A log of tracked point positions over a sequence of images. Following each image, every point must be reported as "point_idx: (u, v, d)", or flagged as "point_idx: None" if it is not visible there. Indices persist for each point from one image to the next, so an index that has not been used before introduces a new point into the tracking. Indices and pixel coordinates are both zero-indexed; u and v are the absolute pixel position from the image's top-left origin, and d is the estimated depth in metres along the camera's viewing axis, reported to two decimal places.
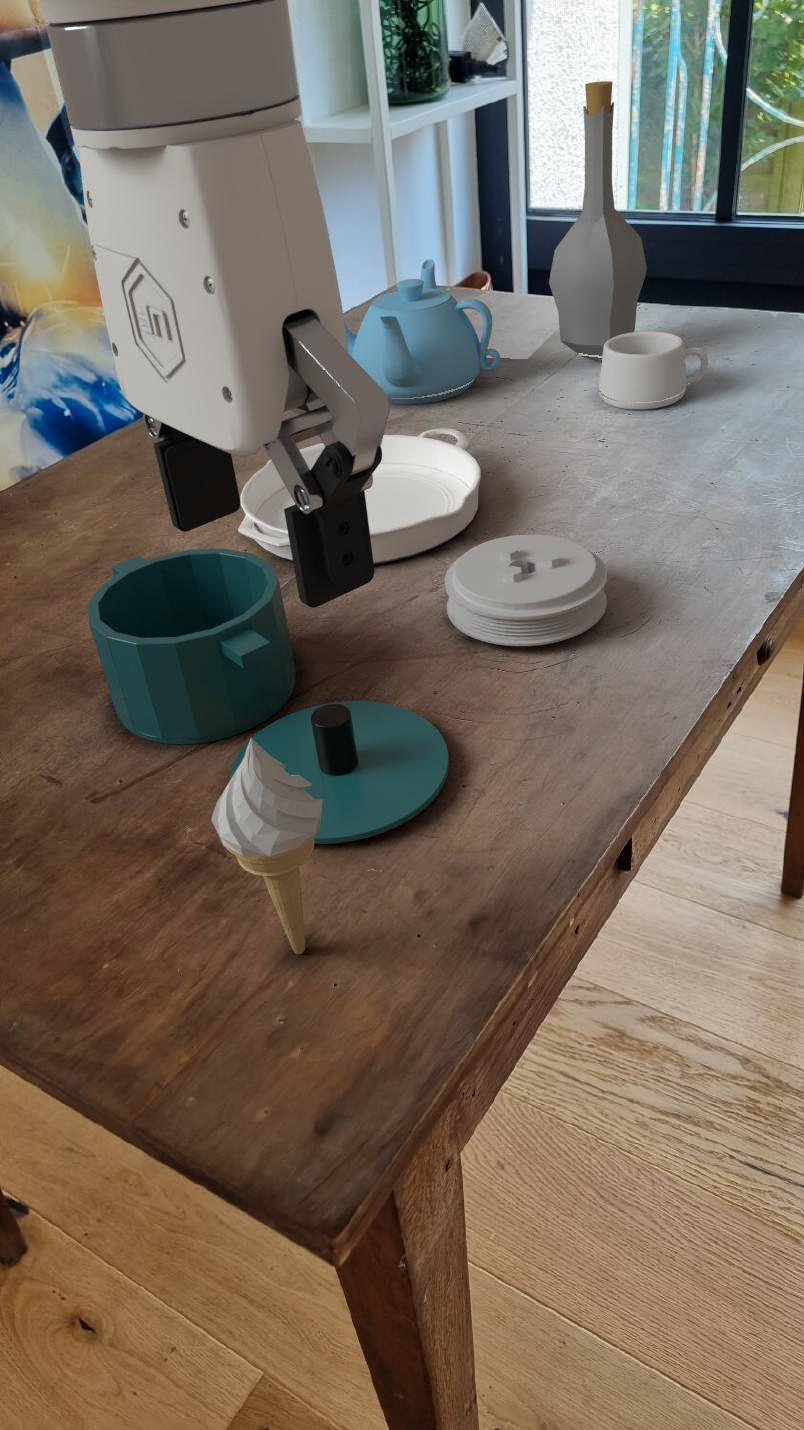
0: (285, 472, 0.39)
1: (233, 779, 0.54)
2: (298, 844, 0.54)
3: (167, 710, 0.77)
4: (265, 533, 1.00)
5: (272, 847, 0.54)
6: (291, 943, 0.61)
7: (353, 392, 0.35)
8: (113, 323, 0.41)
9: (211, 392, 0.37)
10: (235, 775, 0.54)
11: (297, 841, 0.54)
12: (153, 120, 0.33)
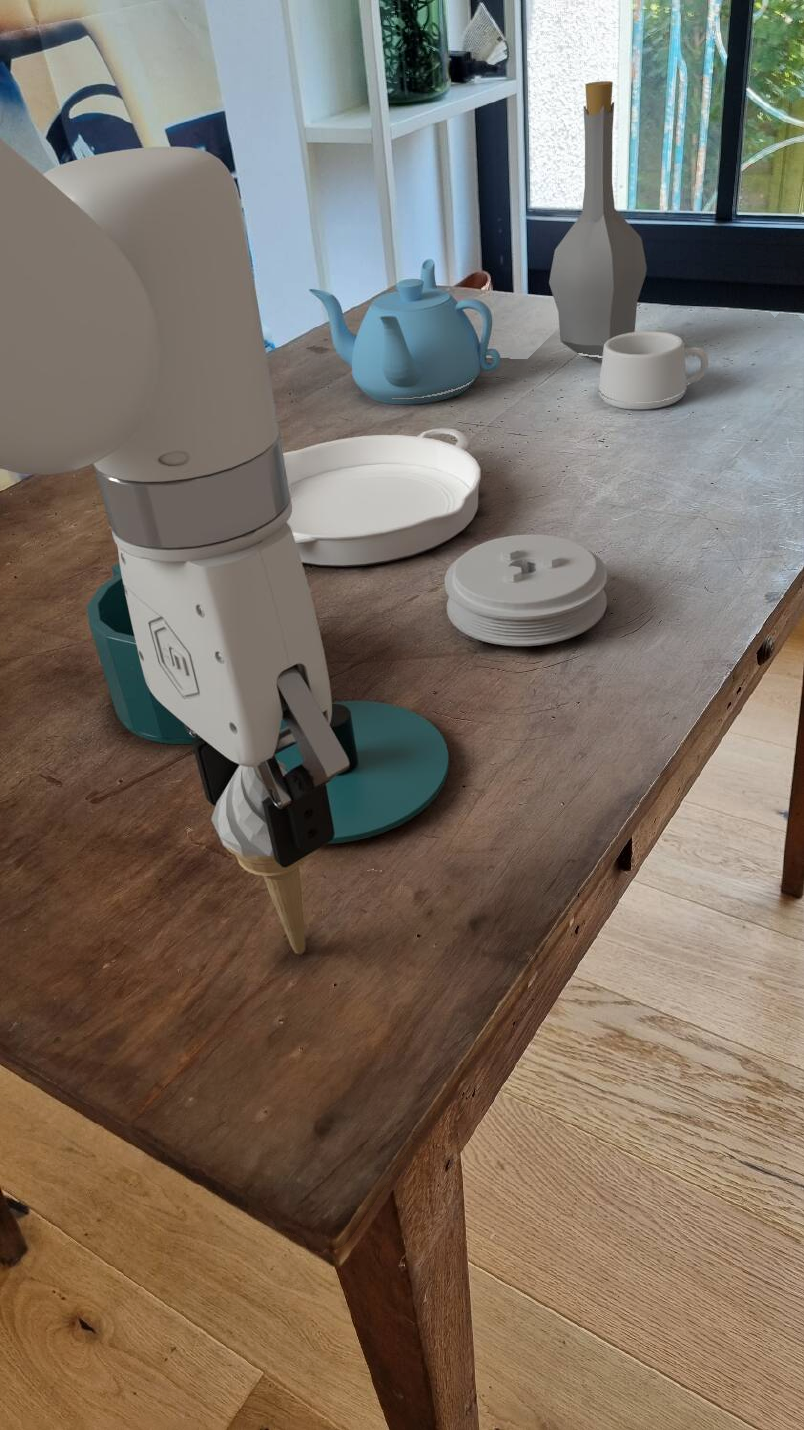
0: (265, 776, 0.50)
1: (233, 779, 0.54)
2: None
3: (167, 710, 0.77)
4: None
5: None
6: (291, 943, 0.61)
7: (324, 759, 0.46)
8: (140, 641, 0.51)
9: (220, 721, 0.47)
10: (235, 775, 0.54)
11: None
12: (176, 545, 0.43)
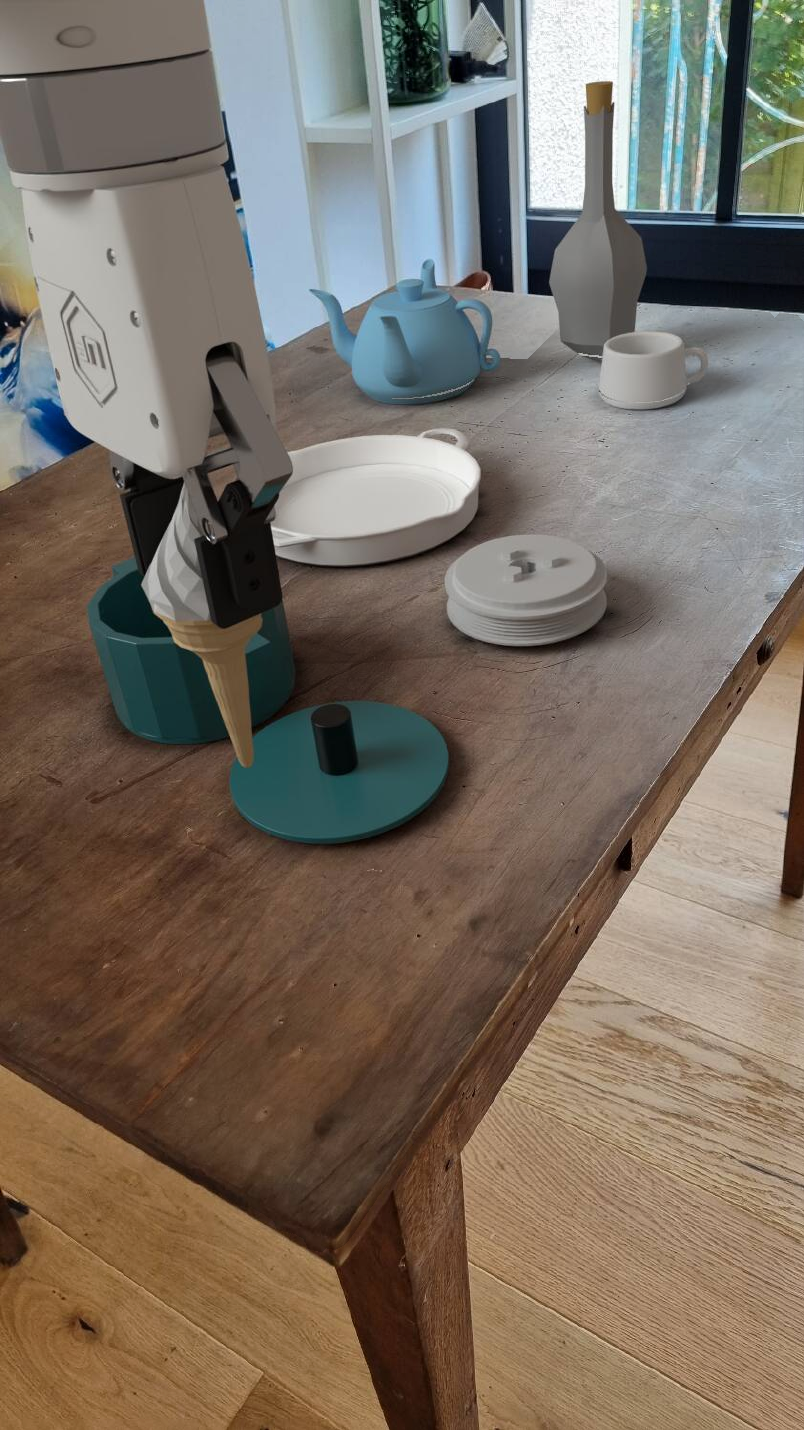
0: (197, 502, 0.42)
1: (166, 533, 0.47)
2: None
3: (167, 710, 0.77)
4: None
5: None
6: (237, 752, 0.53)
7: (262, 456, 0.39)
8: (55, 351, 0.44)
9: (140, 418, 0.40)
10: (169, 529, 0.47)
11: None
12: (81, 166, 0.35)
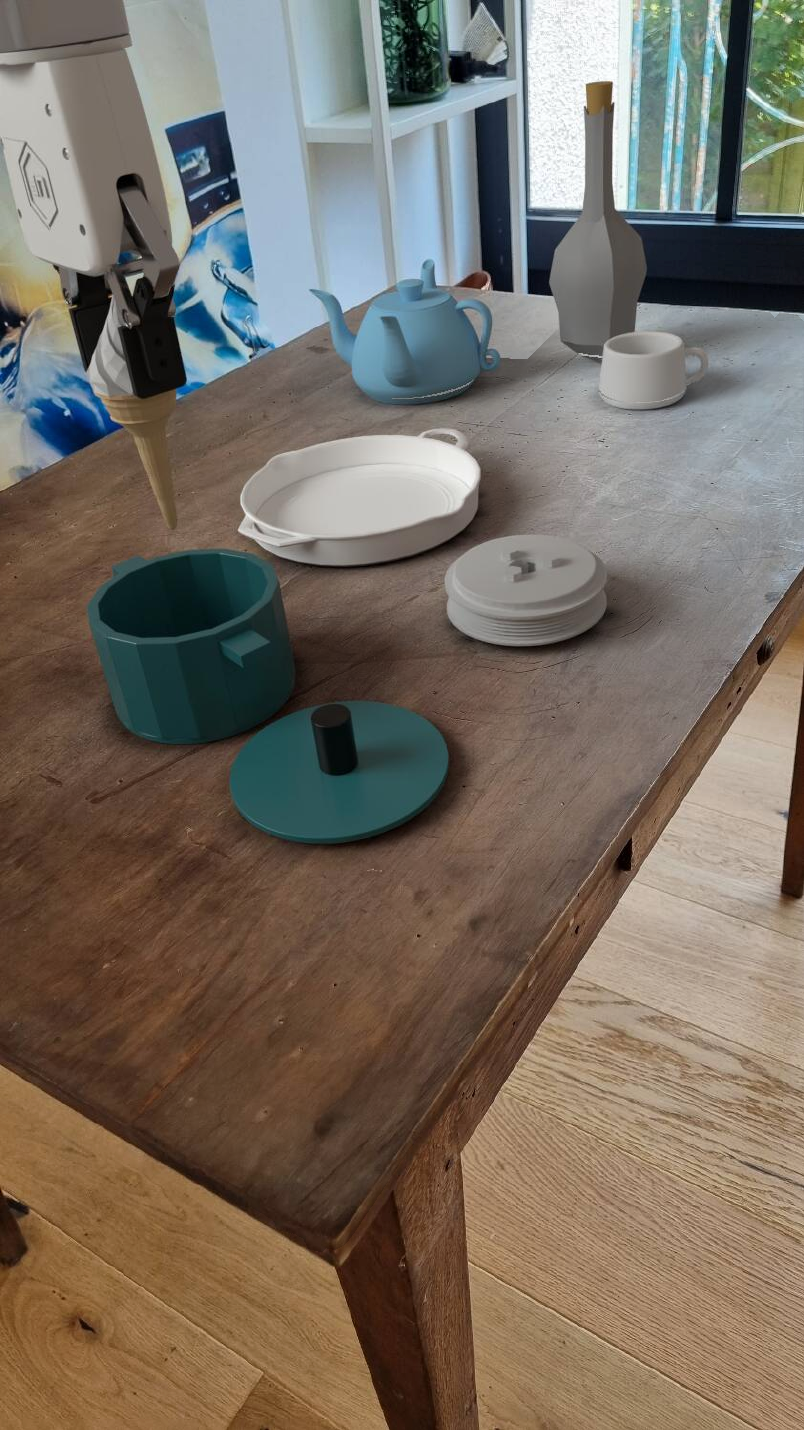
0: (117, 298, 0.59)
1: (102, 334, 0.64)
2: None
3: (167, 710, 0.77)
4: (265, 533, 1.00)
5: None
6: (164, 516, 0.70)
7: (157, 253, 0.56)
8: (17, 194, 0.61)
9: (74, 230, 0.57)
10: None
11: None
12: (26, 46, 0.52)
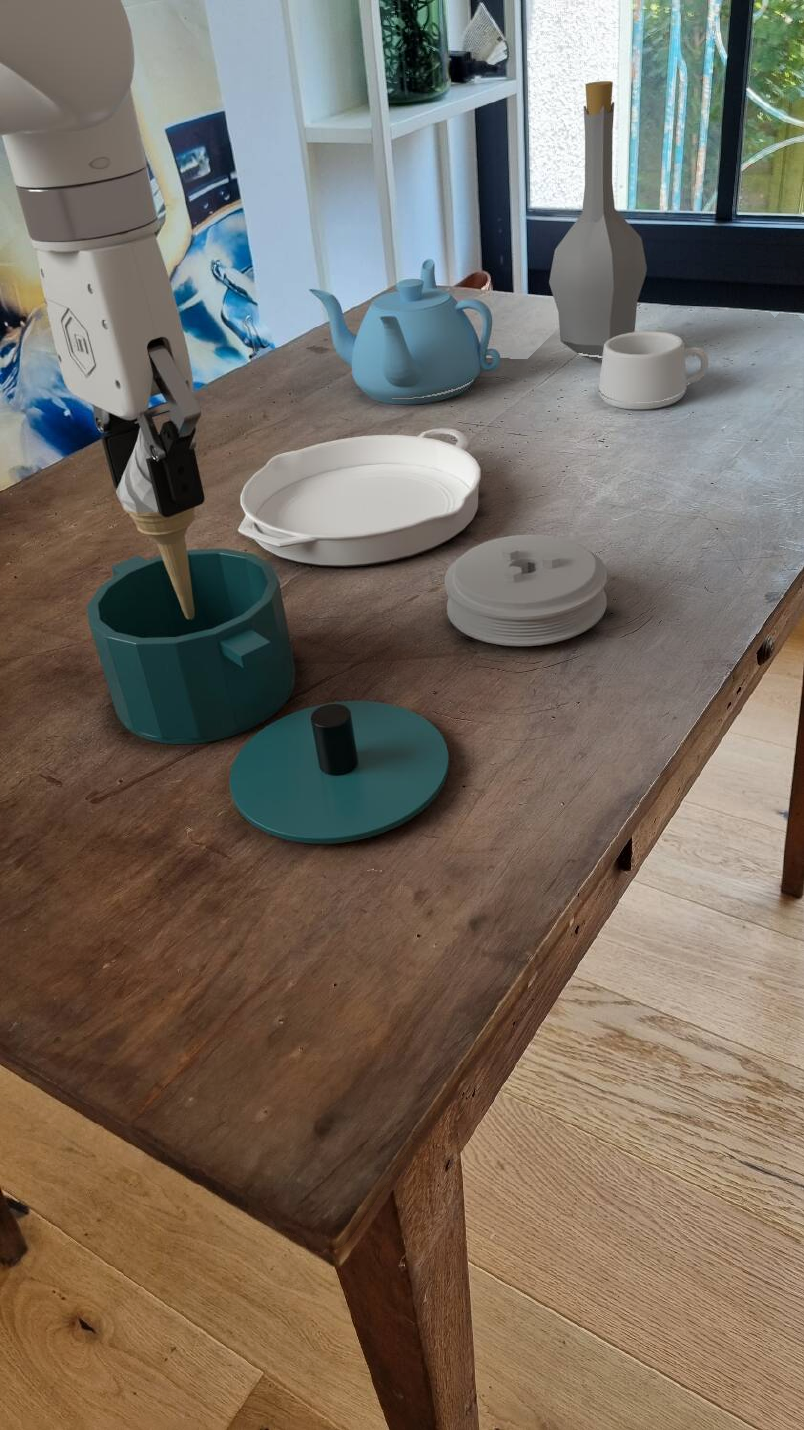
0: (146, 435, 0.69)
1: (131, 458, 0.73)
2: None
3: (167, 710, 0.77)
4: (265, 533, 1.00)
5: None
6: (183, 608, 0.80)
7: (182, 405, 0.65)
8: (58, 343, 0.70)
9: (110, 383, 0.66)
10: (132, 455, 0.73)
11: None
12: (72, 237, 0.62)
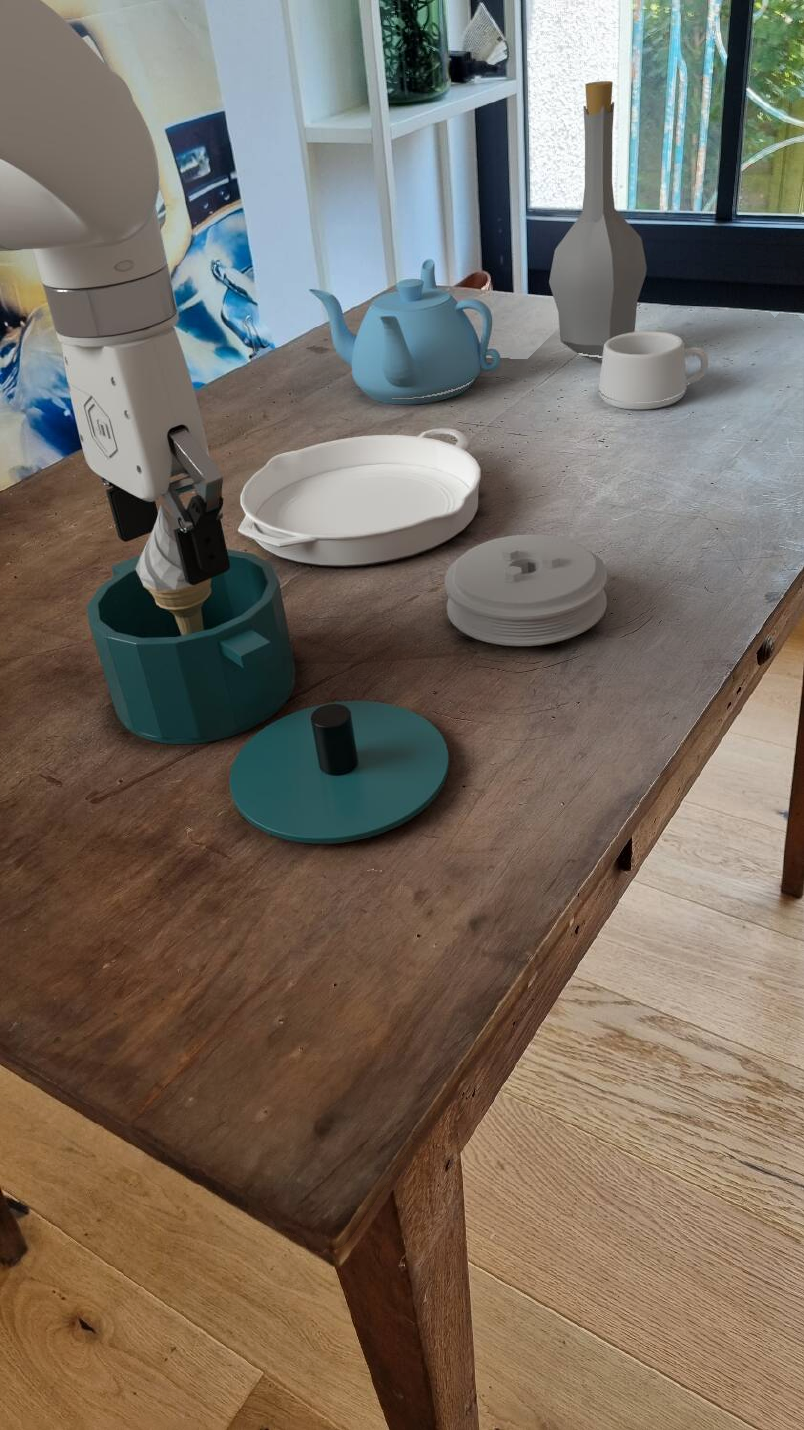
0: (173, 510, 0.71)
1: (150, 537, 0.77)
2: None
3: (167, 710, 0.77)
4: (265, 533, 1.00)
5: (176, 583, 0.76)
6: None
7: (202, 470, 0.67)
8: (80, 425, 0.73)
9: (131, 467, 0.69)
10: None
11: None
12: (96, 334, 0.65)
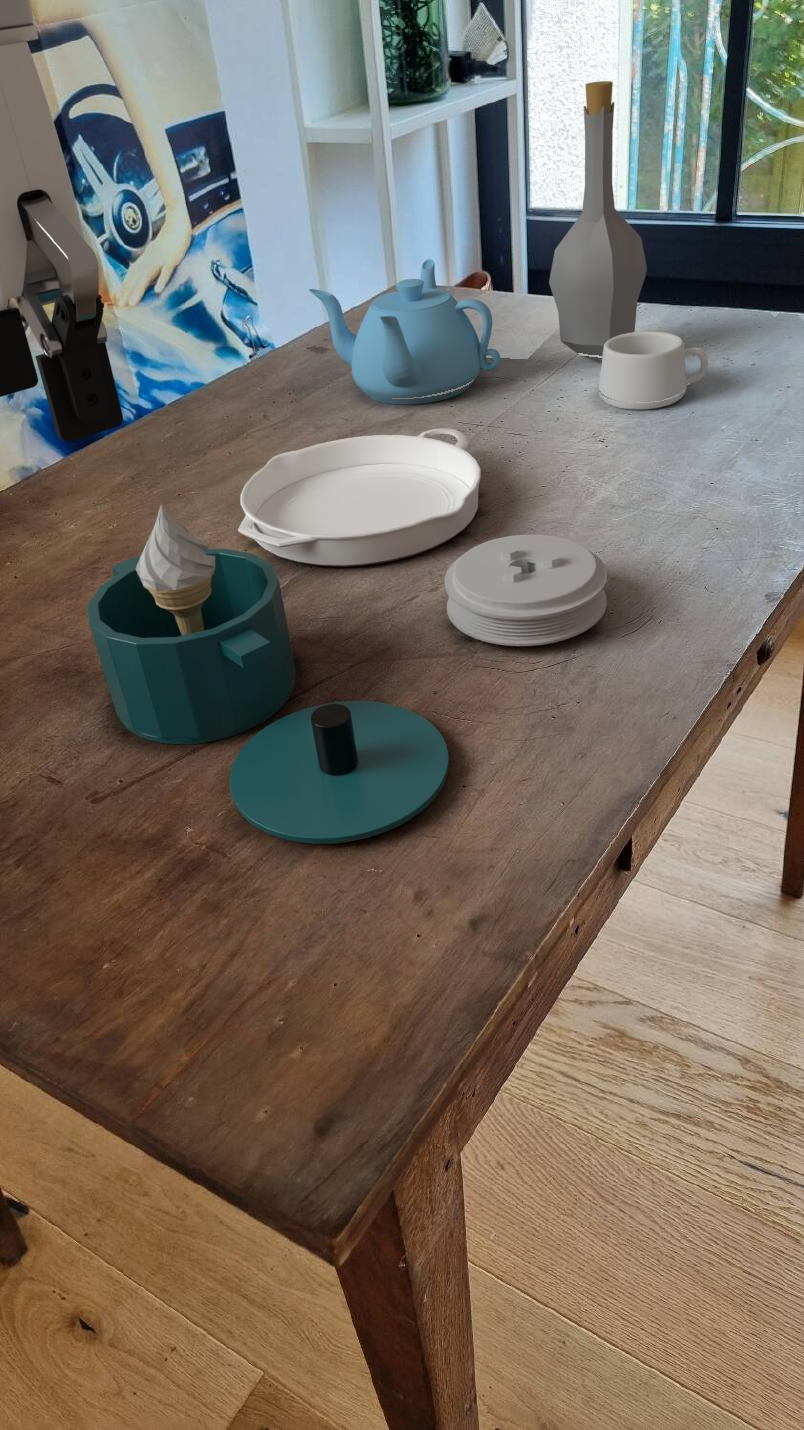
0: (33, 324, 0.49)
1: (150, 537, 0.77)
2: (195, 582, 0.76)
3: (167, 710, 0.77)
4: (265, 533, 1.00)
5: (177, 583, 0.76)
6: None
7: (67, 249, 0.45)
8: None
9: None
10: (151, 534, 0.77)
11: (194, 579, 0.76)
12: None
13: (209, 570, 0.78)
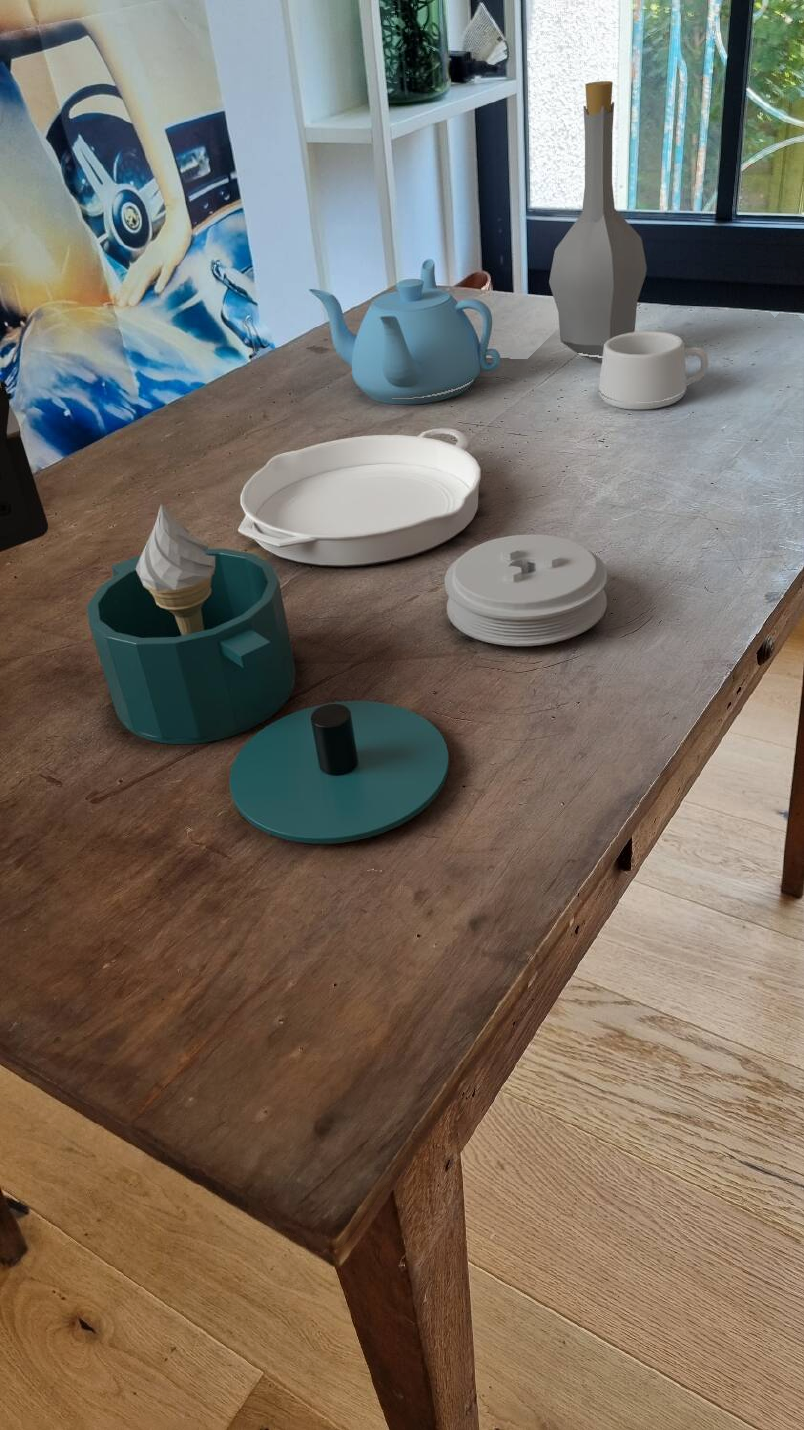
0: None
1: (150, 537, 0.77)
2: (195, 582, 0.76)
3: (167, 710, 0.77)
4: (265, 533, 1.00)
5: (177, 583, 0.76)
6: None
7: None
8: None
9: None
10: (151, 534, 0.77)
11: (194, 579, 0.76)
12: None
13: (209, 570, 0.78)
